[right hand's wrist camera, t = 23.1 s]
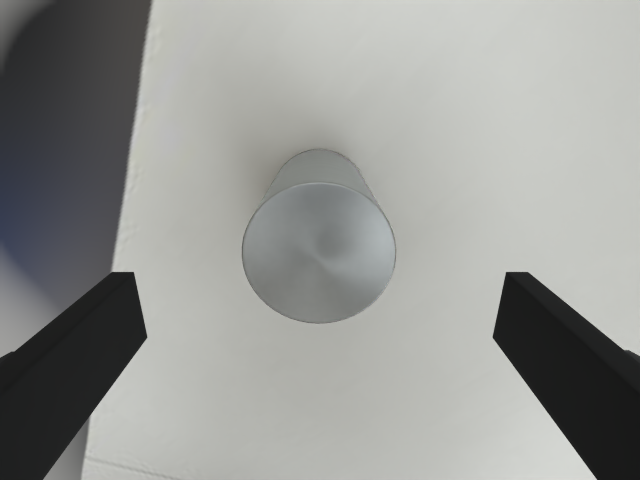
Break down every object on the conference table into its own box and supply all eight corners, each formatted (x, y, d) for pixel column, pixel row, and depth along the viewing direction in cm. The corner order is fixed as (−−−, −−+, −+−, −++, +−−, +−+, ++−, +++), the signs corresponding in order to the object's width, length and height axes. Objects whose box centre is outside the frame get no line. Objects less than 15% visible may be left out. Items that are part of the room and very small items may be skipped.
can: (368, 235, 29) (399, 316, 18) (280, 245, 30) (256, 330, 18) (362, 143, 27) (392, 172, 16) (265, 155, 27) (226, 191, 16)
